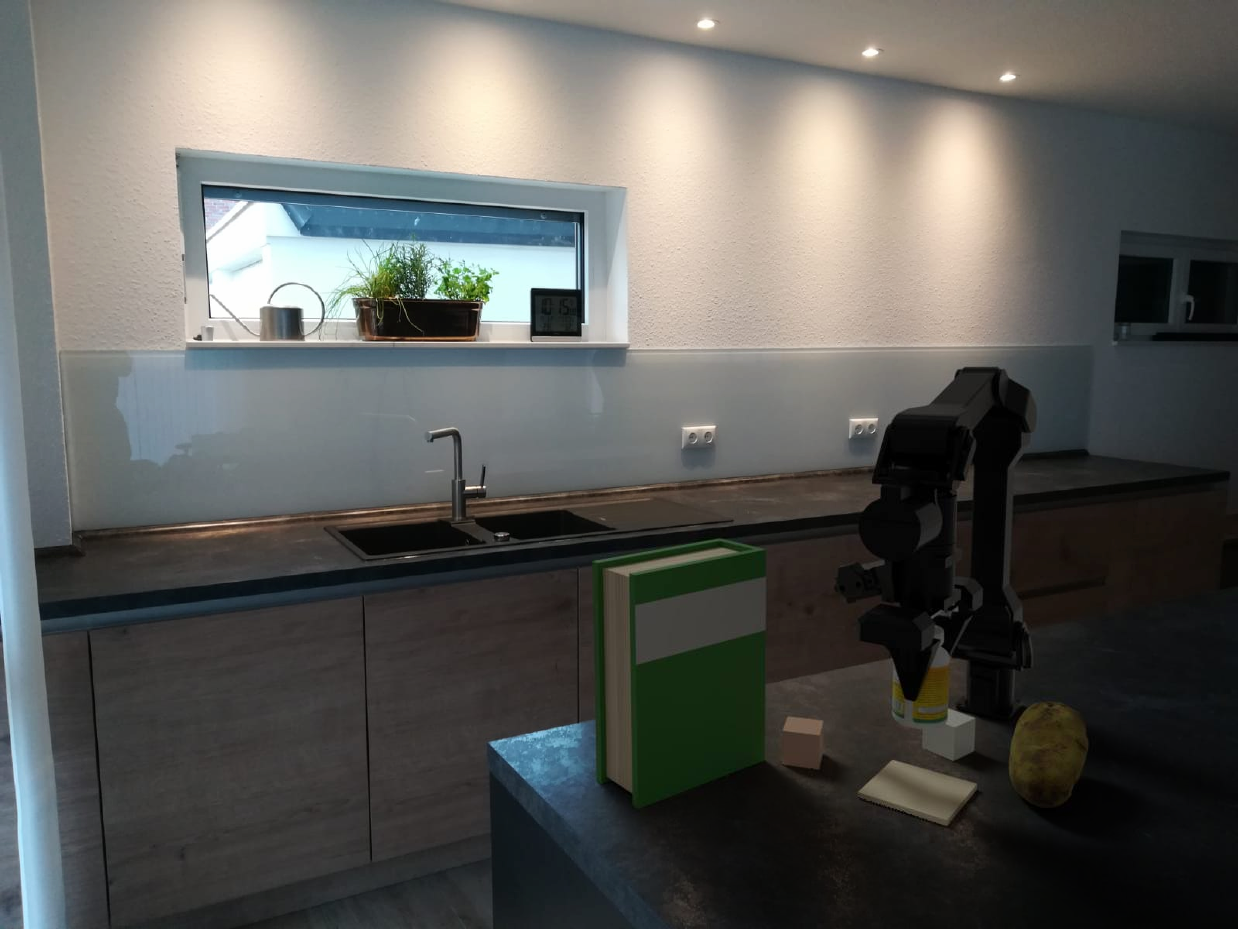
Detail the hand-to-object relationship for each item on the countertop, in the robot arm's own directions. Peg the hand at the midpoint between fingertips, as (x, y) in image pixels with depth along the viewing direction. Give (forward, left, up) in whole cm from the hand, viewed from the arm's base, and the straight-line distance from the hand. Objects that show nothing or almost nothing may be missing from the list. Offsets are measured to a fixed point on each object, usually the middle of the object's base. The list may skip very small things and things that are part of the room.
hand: (921, 691), depth 90 cm
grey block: (-12, -1, -11) cm, 16 cm away
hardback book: (+10, -22, -11) cm, 27 cm away
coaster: (0, 0, -11) cm, 11 cm away
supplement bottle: (0, 0, -3) cm, 3 cm away
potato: (-9, +10, -11) cm, 17 cm away
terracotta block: (0, -13, -11) cm, 17 cm away
